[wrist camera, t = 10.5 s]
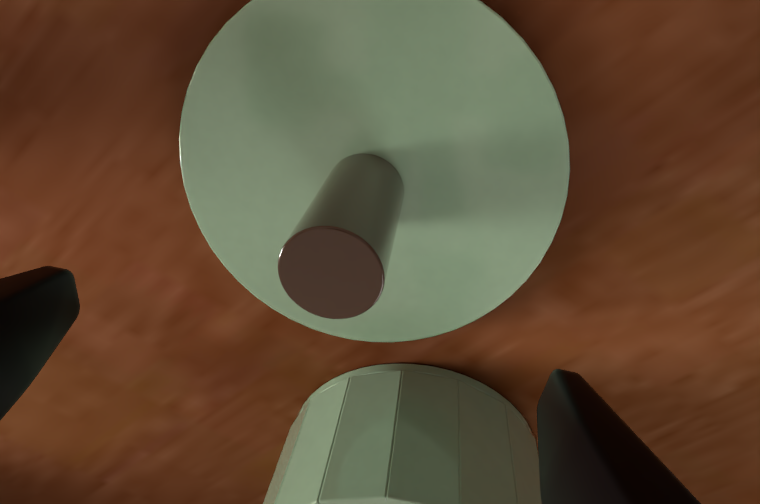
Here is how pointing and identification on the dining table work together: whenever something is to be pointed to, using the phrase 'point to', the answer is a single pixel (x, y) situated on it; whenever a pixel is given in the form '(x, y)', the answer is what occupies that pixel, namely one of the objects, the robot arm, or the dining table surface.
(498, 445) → the pot
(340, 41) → the lid
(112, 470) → the dining table surface
